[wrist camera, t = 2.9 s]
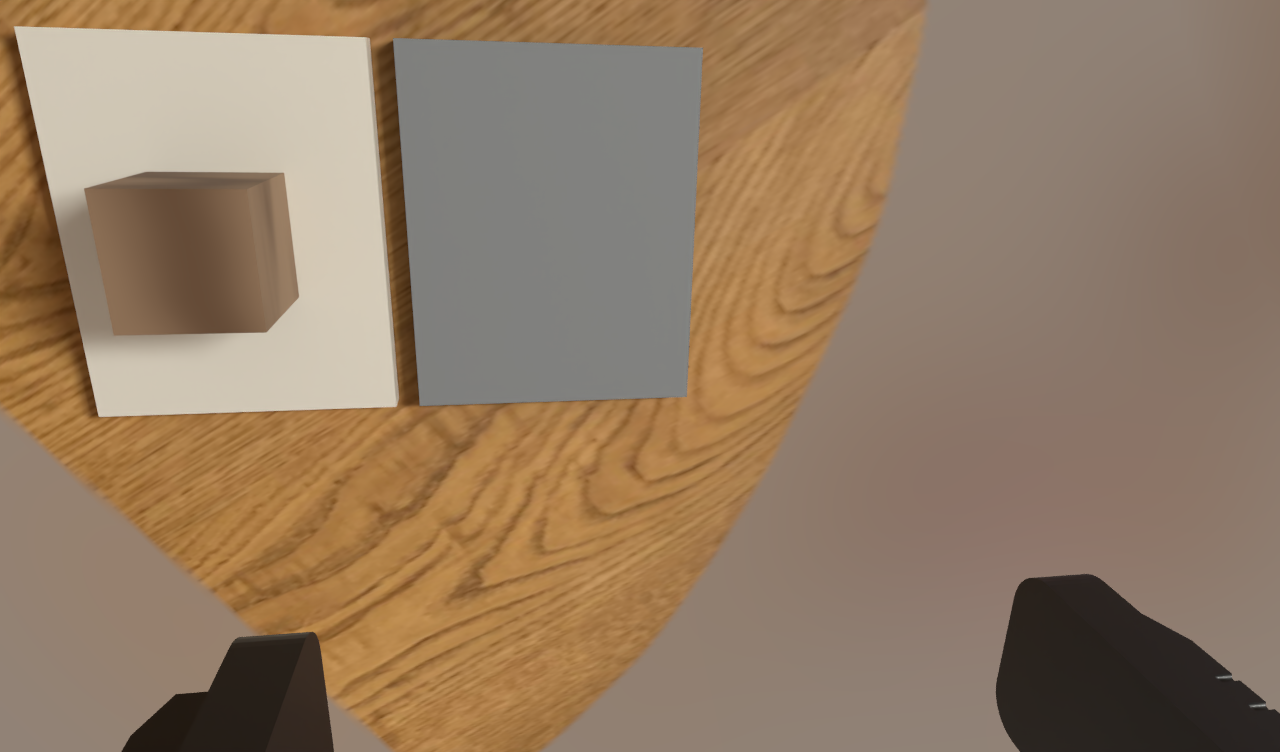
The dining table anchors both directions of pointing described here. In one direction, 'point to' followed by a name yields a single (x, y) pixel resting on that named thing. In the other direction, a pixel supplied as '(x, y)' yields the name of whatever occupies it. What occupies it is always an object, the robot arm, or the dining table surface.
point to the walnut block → (194, 251)
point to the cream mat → (226, 142)
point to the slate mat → (549, 217)
